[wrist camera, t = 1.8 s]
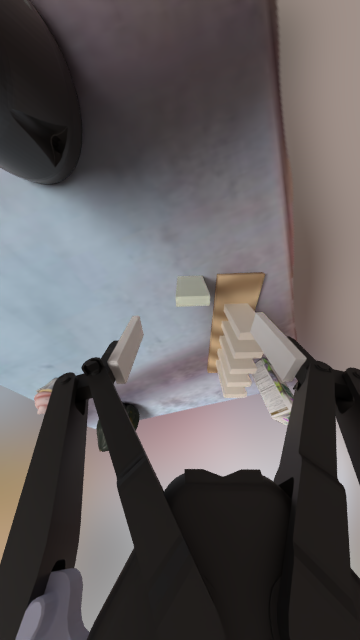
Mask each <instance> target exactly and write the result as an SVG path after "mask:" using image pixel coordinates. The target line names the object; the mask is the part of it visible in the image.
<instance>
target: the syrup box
mask: <svg viewBox="0 0 360 640" xmlns="http://www.w3.org/2000/svg"><path fill="white" fill-rule="evenodd" d="M255 365H256V367H257V371H256V373H255V374H252V376H253V379H254V381H255V383H256V385H257V387H258V389H259V392H260V394H261V396H262V398H263V400H264V403H265V405H266V407H267V409H268V411H269V413H270V415H271V418H272V419H274V420H276V421H278V422H280V423H282V424H284V425H288V422H289V417H290V412H291V407H292V403H293V398H294V396H293V394H292V393H291V391H290V390H289V388H288V386H287V385H286V383H285V382H282V380H281V378H280V377H279V375H278V374H277V372H276V371H275V369H274V368H273V366H272V365H271V363H270V362H269V361H267V360H266V359H265V358H263V359H261V360H259V361H258V362H256V363H255Z"/></svg>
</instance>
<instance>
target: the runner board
mask: <svg viewBox="0 0 360 640" xmlns="http://www.w3.org/2000/svg"><path fill="white" fill-rule="evenodd" d="M264 277H265V274H264V273H263V272H259V273H233V274H217V279H216V289H215V299H214V309H213V318H212V328H211V338H210V348H209V358H208V367H207V371H208V373H217V372H218V371H217V367H216V360H219V357H218V354H217V351H218V349H222V348H221V345H220V342H219V338H220V336H225V335H224V333H223V330H222V328H221V324H222V321H229V320H228V318H227V316H226V314H225V312H224V304H240V303H248V304H249V305H250V307H251V308H252V309H253V310H254V311H255V308H256V305H257V301H258V298H259V294H260V291H261V287H262V284H263V280H264Z"/></svg>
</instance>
